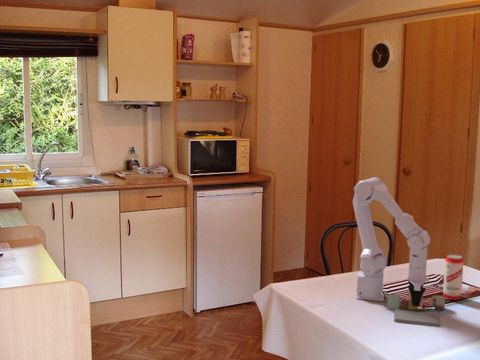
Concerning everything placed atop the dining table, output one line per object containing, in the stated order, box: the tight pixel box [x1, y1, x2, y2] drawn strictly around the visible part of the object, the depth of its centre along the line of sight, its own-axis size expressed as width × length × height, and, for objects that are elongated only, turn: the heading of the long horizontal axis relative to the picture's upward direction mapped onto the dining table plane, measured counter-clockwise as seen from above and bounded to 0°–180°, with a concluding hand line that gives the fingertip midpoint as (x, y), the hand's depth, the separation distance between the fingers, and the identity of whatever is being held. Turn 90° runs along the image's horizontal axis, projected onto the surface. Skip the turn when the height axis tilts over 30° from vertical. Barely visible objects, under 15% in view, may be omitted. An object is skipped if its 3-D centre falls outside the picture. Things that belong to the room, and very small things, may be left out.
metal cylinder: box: [430, 294, 446, 312], centre depth 191 cm, size 4×4×4 cm
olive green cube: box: [386, 293, 401, 311], centre depth 193 cm, size 4×4×4 cm
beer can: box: [442, 253, 464, 300], centre depth 199 cm, size 6×6×16 cm
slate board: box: [393, 309, 440, 327], centre depth 183 cm, size 14×8×1 cm, turn 74°
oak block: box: [408, 291, 424, 311], centre depth 191 cm, size 4×4×6 cm
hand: (415, 302), depth 192 cm, fingers closed on oak block, 4 cm apart
